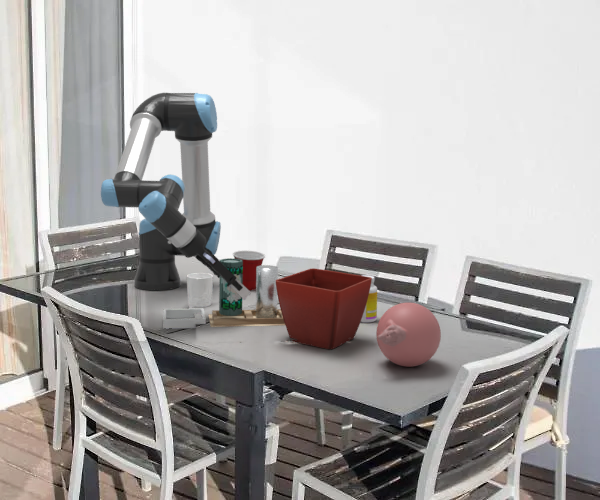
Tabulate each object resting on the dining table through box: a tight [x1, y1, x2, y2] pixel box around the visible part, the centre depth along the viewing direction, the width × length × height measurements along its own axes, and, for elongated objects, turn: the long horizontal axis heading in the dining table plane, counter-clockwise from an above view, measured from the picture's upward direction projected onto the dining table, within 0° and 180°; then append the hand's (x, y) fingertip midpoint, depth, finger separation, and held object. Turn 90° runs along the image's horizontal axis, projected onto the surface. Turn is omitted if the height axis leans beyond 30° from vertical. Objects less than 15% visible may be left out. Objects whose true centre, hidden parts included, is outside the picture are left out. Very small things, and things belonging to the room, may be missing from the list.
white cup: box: [186, 272, 214, 309], centre depth 248 cm, size 8×8×10 cm
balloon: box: [375, 302, 442, 368], centre depth 197 cm, size 15×20×15 cm
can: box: [218, 257, 243, 316], centre depth 230 cm, size 6×6×15 cm
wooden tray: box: [208, 308, 286, 328], centre depth 232 cm, size 13×22×3 cm, turn 99°
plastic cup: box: [232, 250, 266, 291], centre depth 273 cm, size 11×11×12 cm
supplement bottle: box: [360, 274, 378, 324], centre depth 238 cm, size 7×7×13 cm
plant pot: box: [276, 268, 372, 350], centre depth 217 cm, size 19×19×17 cm
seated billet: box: [255, 264, 279, 318], centre depth 232 cm, size 6×6×15 cm
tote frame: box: [162, 307, 207, 330], centre depth 232 cm, size 12×12×2 cm
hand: (243, 293), depth 232 cm, fingers closed on can, 6 cm apart
